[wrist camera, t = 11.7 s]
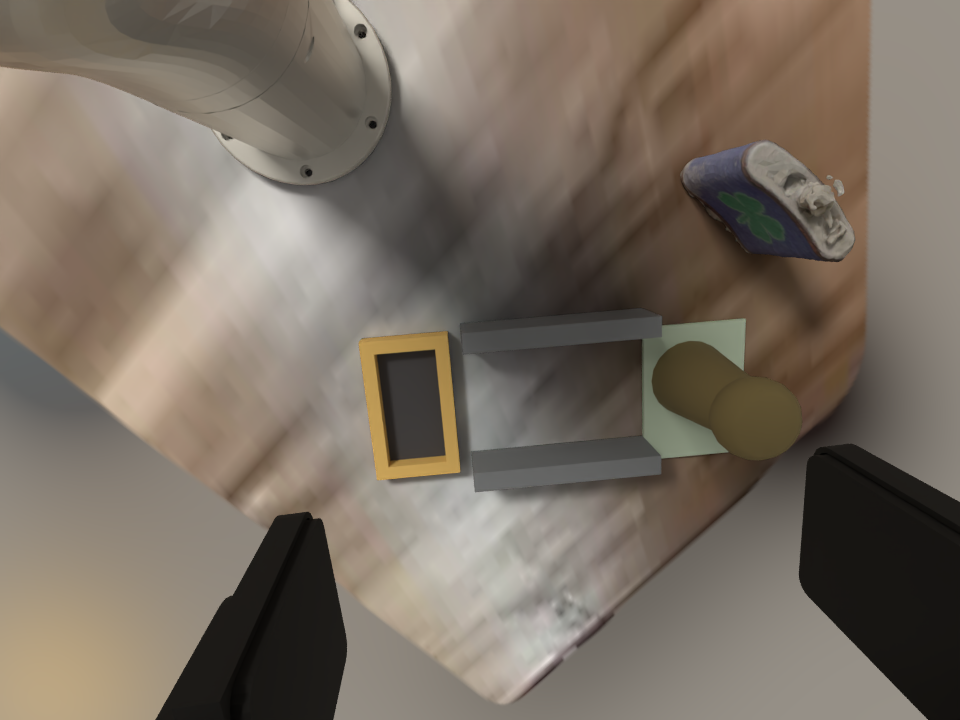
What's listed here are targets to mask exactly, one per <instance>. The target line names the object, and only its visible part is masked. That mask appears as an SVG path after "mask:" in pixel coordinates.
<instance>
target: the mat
mask: <svg viewBox="0 0 960 720" xmlns="http://www.w3.org/2000/svg"><path fill="white" fill-rule="evenodd" d="M745 326H746V319H744V318H741V319H730V320H718V321H707V322H695V323H684V324H672V325H662V337H658V338H647V339H642V436H643V437H644V438H645V439H646V440H647V441H648V442H649V443H650V444H651V445H652V446H653V447H654V449H655V450H656V451H657V452H658V453H659V454H660V455H661V459H663V458H673V457H684V456H694V455H704V454H715V453H725V452H729V451H727V450H726V449H725V448H724V447H723V446H722V445H721V444H719V443H718V441H717V440H716V438H715V436H714V434H713V432H712V430H710V429H707V428H705V427H703V426H701V425H699V424H697V423H695V422H693V421H690V420H688V419H686V418H684V417H682V416H680V415H678V414H675V413H673V412H671V411H669V410H667V409H666V408H665V407H663V406H662V405H661V404H660V403H659V402H658V400H657V399H656V397H655V395H654V393H653V388H652V382H651V381H652V375H653V370H654V368H655V366H656V364H657V362H658V360H659V358H660V357H661V356H662V355H663V354H664V353H665V352H666V351H667V350H668V349H670V348H671V347H673V346H675V345H677V344H678V343H683V342H687V341H701V342H704V343H706V344H709V345H711V346H713V347H714V348H715V349H717V350H718V351H719V352H720V353H722V354H723V355H724V356H725V357H727V358H728V359H729V360H730V361H732V362H733V363H734V364H736V365H737V366H738V367H739V368H741V369H742V370H743V371H744V349H745Z"/></svg>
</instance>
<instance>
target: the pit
mask: <svg viewBox="0 0 960 720" xmlns="http://www.w3.org/2000/svg"><path fill="white" fill-rule="evenodd" d="M359 350H360V357H361V365H362V372H363V379H364V387H365V394H366V401H367V409H368V416H369V424H370V431H371V438H372V446H373V453H374V460H375V468H376V475H377V480H386V479H396V478H407V477H417V476H428V475H438V474H449V473H459V472H460V458H459V448H458V437H457V426H456V416H455V405H454V394H453V384H452V373H451V362H450V352H449V341H448V331H443V332H431V333H420V334H408V335H397V336H385V337H373V338H362V339H361V340H360V341H359Z"/></svg>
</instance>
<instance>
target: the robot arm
mask: <svg viewBox="0 0 960 720" xmlns="http://www.w3.org/2000/svg"><path fill="white" fill-rule="evenodd" d="M362 32H364V33H366V37H365V38H363V39H360V38H359V34H360V33H362ZM0 67H7V68H14V69H23V70H33V71H43V72H53V73H64V74H71V75H77V76H81V77H86V78H89V79H92V80H95V81H98V82H101V83H104V84H107V85H110V86H112V87H115V88H117V89H120V90H122V91H125V92H127V93H130V94H132V95H135V96H137V97H139V98H142V99H144V100H146V101H149V102H151V103H153V104H155V105H157V106H159V107H162V108H164V109H166V110H169V111H171V112H173V113H176V114H178V115H180V116H183V117H185V118H187V119H190V120H192V121H194V122H197V123H199V124H202V125H204V126H206V127H209V128H210V129H211V130H212V131H213V133H214V134H215V136H216V137H217V139H218V140H219V141H220V143H221V144H222V145H223V147H224V148H225V149H226V150H227V151H228V152H229V153H230V154H231V155H232V156H233V157H234V158H235V159H236V160H238V161H239V162H241V163H242V164H243V165H245V166H246V167H248V168H249V169H250V170H252V171H254V172H256V173H258V174H260V175H262V176H265V177H267V178H269V179H272V180H275V181H279V182H282V183H288V184H294V185H317V184H321V183H326V182H330V181H333V180H336V179H338V178H340V177H342V176H344V175H346V174H348V173H350V172H351V171H352V170H354V169H355V168H356V167H358V166H359V165H361V164H362V163H363V162H364V161H365V159H366V158H367V157H368V156H369V155H370V154H371V153H372V152H373V150H374V149H375V147H376V145H377V144H378V142H379V140H380V139H381V137H382V135H383V132H384V129H385V127H386V124H387V121H388V118H389V112H390V106H391V100H392V99H391V77H390V72H389V67H388V62H387V59H386V56H385V53H384V50H383V47H382V45H381V43H380V41H379V39H378V37H377V34H376V32H375V30H374V28H373V27H372V26H371V24H370V23H369V21H368V20H367V19H366V17H365V16H364V14H363V13H362V12H361V11H360V10H359V9H358V8H357V7H356V6H355V5H354V4H353V3H352V2H351V1H350V0H0ZM371 122H376V124H377V126H376V128H375V129H371V128H370V123H371ZM230 137H232V138H233V139H230ZM309 169H311V170H312V175H311V176H310V177H308V176H307V174H306V171H307V170H309ZM801 539H802V540H801V553H800V566H799V579H800V583H801V586H802V588H803V590H804V591H805V593H806V594H807V596H808V597H809V598H810V599H811V600H812V601H813V602H814V603H815V604H816V605H817V606H818V607H819V608H820V609H821V610H822V611H823V612H824V613H825V614H826V615H827V616H828V617H829V618H830V619H831V620H832V621H833V622H834V623H835V624H836V626H837V627H838V628H839V629H840V630H841V631H842V632H843V633H844V634H845V635H846V636H847V637H848V638H849V639H850V640H851V641H852V642H853V643H854V644H855V645H856V646H857V647H858V648H859V649H860V650H861V651H862V652H863V653H864V654H865V655H866V656H867V657H868V658H869V659H870V661H871V662H872V663H873V664H874V665H875V666H876V667H877V668H878V669H879V670H880V671H881V672H882V673H883V674H884V675H885V676H886V677H887V678H888V679H889V680H890V681H891V682H892V683H893V684H894V685H895V686H896V687H897V688H898V689H899V690H900V691H901V692H902V693H903V695H904V696H905V697H907V699H909V701H910V702H911V703H912V704H913V705H914V706H915V707H916V708H917V709H918V710H919V711H920V712H921V713H922V714H923V715H924V716H925V717H926V718H927V719H928V720H960V502H959V501H957V500H955V499H953V498H951V497H950V496H948V495H946V494H944V493H942V492H940V491H939V490H937V489H935V488H933V487H931V486H929V485H928V484H926V483H924V482H922V481H920V480H918V479H917V478H915V477H913V476H911V475H909V474H908V473H906V472H904V471H902V470H900V469H898V468H897V467H895V466H893V465H891V464H889V463H887V462H886V461H884V460H882V459H880V458H878V457H876V456H875V455H872V454H871V453H869V452H867V451H866V450H864V449H862V448H860V447H858V446H856V445H853V444H843V445H835V446H828V447H820V448H818V449H817V450H816V452H815V453H814V456H812V457H810V458H809V460H808V462H807V471H806V486H805V498H804V511H803V525H802V538H801ZM346 656H347V640H346V633H345V628H344V623H343V618H342V613H341V608H340V603H339V598H338V593H337V588H336V583H335V578H334V574H333V569H332V564H331V559H330V554H329V549H328V544H327V539H326V534H325V529H324V525H323V522H322V519H320V518H318V519H313V517H312V515H311V513H309V512H303V513H295V514H287V515H279V516H277V517H276V518H275V519H274V521H273V523H272V525H271V527H270V528H269V530H268V532H267V534H266V536H265V538H264V539H263V541H262V543H261V545H260V547H259V549H258V551H257V552H256V554H255V556H254V558H253V560H252V561H251V563H250V565H249V567H248V569H247V571H246V572H245V574H244V576H243V578H242V580H241V582H240V583H239V585H238V587H237V589H236V591H235V593H234V594H233V596H229V597H228V598H226V599H225V600H224V601H223V602H222V604H221V605H220V607H219V609H218V610H217V612H216V614H215V615H214V617H213V619H212V621H211V623H210V624H209V626H208V628H207V630H206V631H205V633H204V635H203V637H202V638H201V640H200V642H199V644H198V645H197V647H196V649H195V651H194V653H193V654H192V656H191V658H190V660H189V661H188V663H187V665H186V667H185V668H184V670H183V672H182V674H181V676H180V677H179V679H178V681H177V683H176V684H175V686H174V688H173V690H172V692H171V693H170V695H169V697H168V699H167V700H166V702H165V704H164V706H163V707H162V709H161V711H160V713H159V714H158V717H157V718H156V720H333V718H334V713H335V709H336V704H337V699H338V695H339V690H340V685H341V680H342V676H343V671H344V666H345V662H346Z"/></svg>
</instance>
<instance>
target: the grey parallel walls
mask: <svg viewBox="0 0 960 720" xmlns="http://www.w3.org/2000/svg"><path fill="white" fill-rule="evenodd" d="M460 328H461V339H462V350H463V355H464V354H476V353H487V352H499V351H510V350H521V349H533V348H544V347H556V346H567V345H578V344H590V343H601V342H613V341H624V340H635V339H647V338H658V337H662V316H661V315H658V314H656V313H653V312H651V311H648V310H646V309H643V308H635V309H624V310H612V311H600V312H589V313H577V314H565V315H554V316H542V317H530V318H519V319H507V320H495V321H484V322H472V323H460ZM471 453H472V465H473V476H474V487H475V492H483V491H493V490H504V489H514V488H524V487H535V486H545V485H555V484H566V483H576V482H587V481H597V480H607V479H618V478H628V477H638V476H649V475H659V474H661V455H660V454H659V453H658V452H657V451H656V450H655V449H654V447H653V446H652V445H651V444H650V443H649V442H648V441H647V440H646V439H645V438H644V437H643V436H633V437H622V438H611V439H601V440H590V441H579V442H569V443H558V444H547V445H537V446H526V447H515V448H505V449H494V450H483V451H473V452H471Z"/></svg>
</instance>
